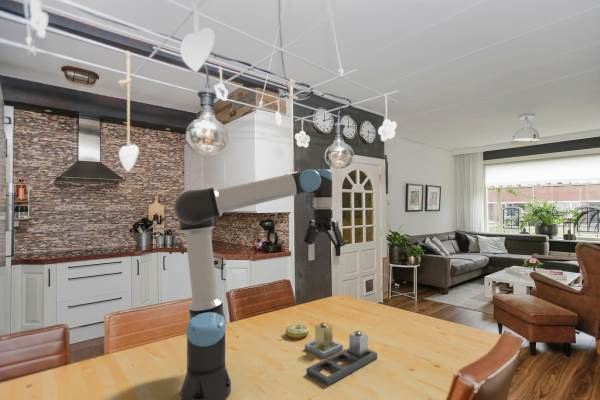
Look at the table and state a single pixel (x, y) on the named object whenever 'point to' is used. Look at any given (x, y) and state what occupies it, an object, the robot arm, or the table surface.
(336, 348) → the parts tray
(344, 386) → the table surface
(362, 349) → the grey knobbed block
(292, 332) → the decorated donut
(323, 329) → the gold block with knob
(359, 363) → the rail
